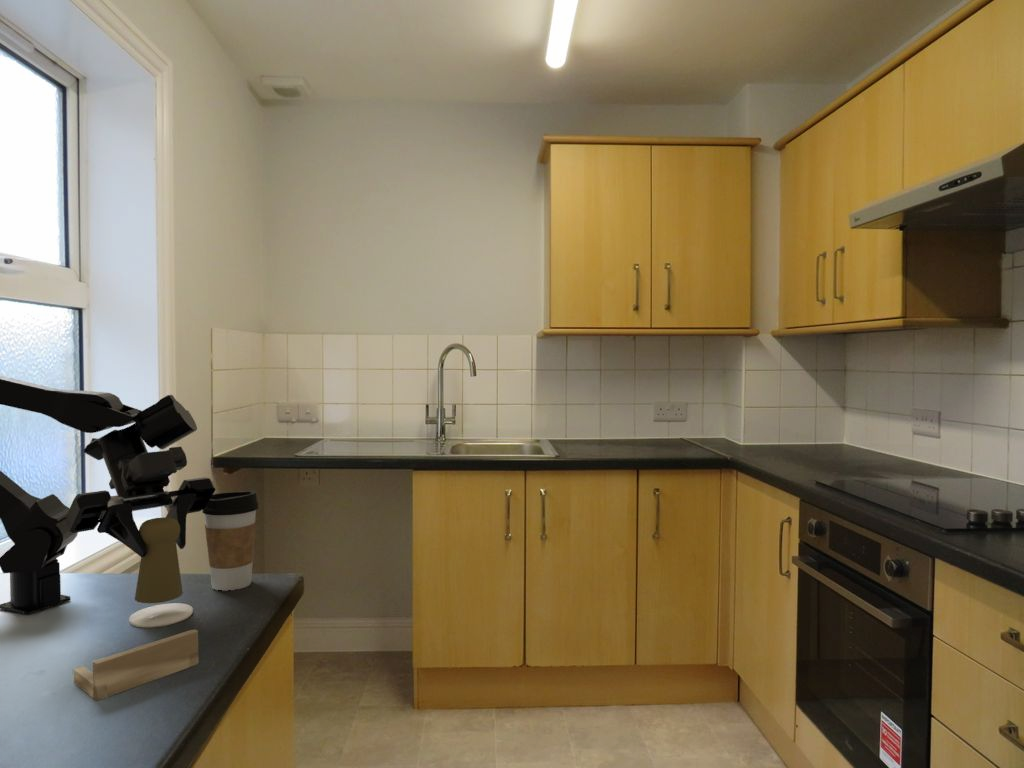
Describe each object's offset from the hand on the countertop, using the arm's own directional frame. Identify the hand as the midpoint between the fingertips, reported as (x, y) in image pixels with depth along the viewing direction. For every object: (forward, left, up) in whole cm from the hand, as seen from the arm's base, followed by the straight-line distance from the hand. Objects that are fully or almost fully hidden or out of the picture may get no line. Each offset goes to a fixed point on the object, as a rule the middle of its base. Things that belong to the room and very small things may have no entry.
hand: (164, 551), depth 93 cm
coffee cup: (-2, +14, -10) cm, 18 cm away
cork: (-1, 0, -7) cm, 7 cm away
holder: (+11, -13, -10) cm, 20 cm away
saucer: (-1, 0, -10) cm, 10 cm away
